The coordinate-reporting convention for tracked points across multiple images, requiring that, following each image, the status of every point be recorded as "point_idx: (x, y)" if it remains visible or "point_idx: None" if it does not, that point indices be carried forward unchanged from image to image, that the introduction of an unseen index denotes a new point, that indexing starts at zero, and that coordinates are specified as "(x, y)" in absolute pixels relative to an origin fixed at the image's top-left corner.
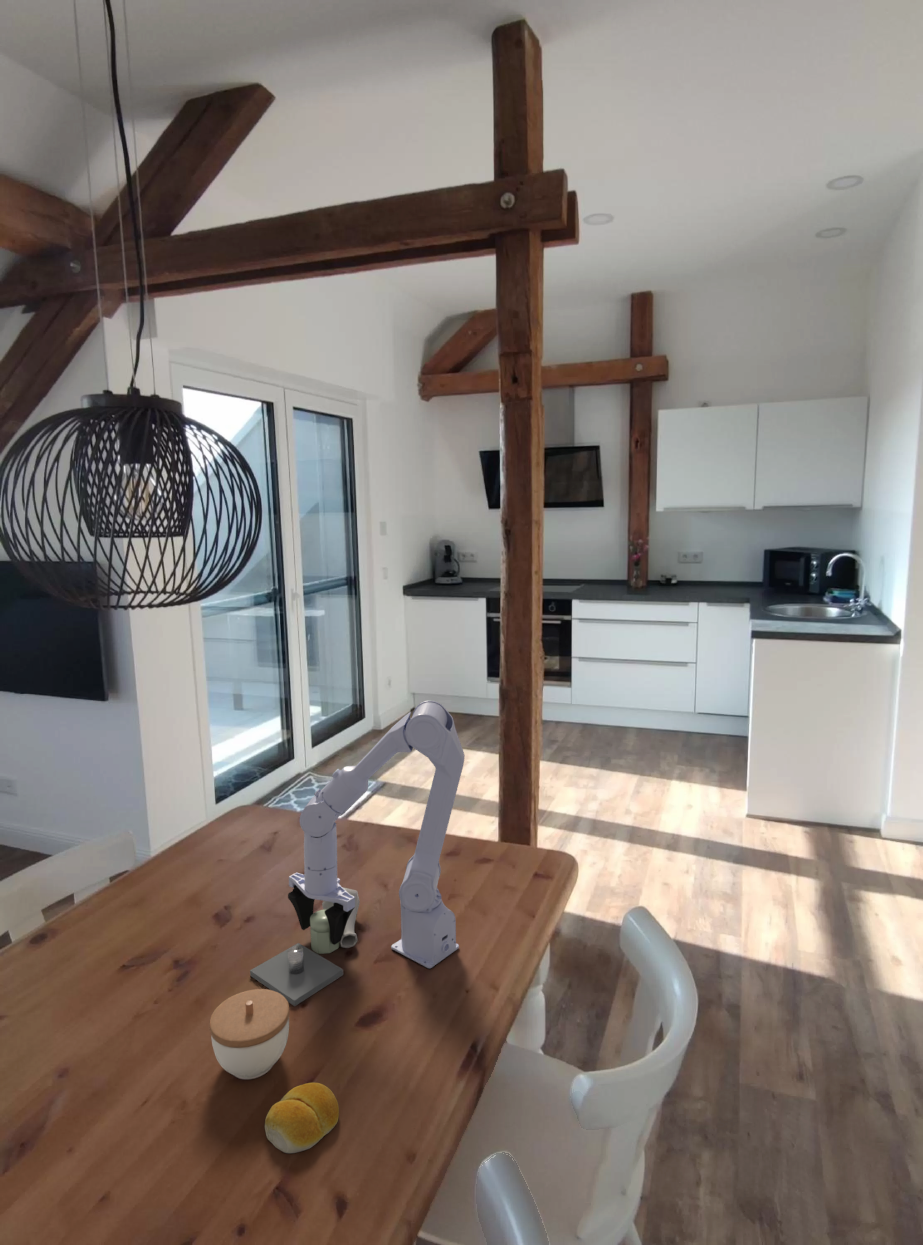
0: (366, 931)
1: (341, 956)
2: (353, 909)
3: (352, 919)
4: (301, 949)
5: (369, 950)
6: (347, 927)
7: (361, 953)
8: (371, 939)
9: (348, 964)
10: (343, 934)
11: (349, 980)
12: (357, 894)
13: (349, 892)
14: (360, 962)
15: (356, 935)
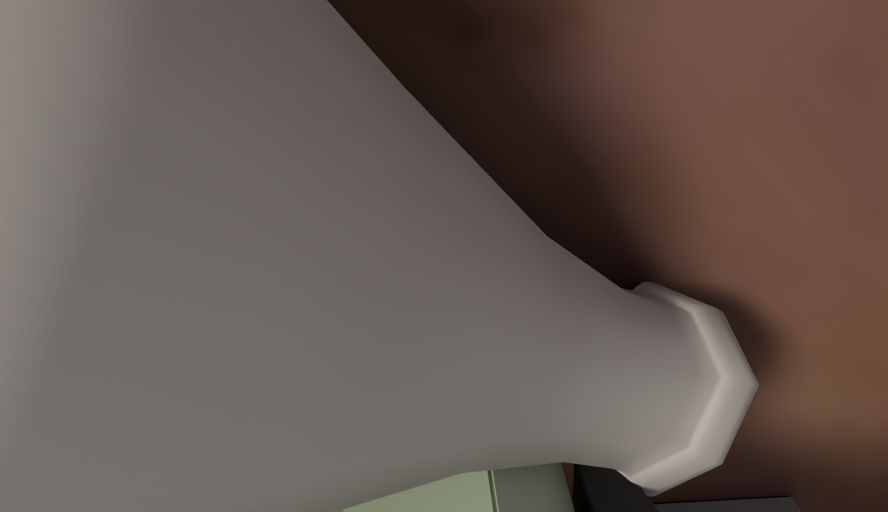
0: (592, 5)
1: None
2: (464, 282)
3: (571, 336)
4: None
5: (841, 231)
6: (618, 435)
7: (786, 300)
8: (759, 88)
9: (760, 428)
10: (646, 490)
11: (863, 497)
12: None
13: (8, 343)
14: (843, 369)
15: (746, 368)
